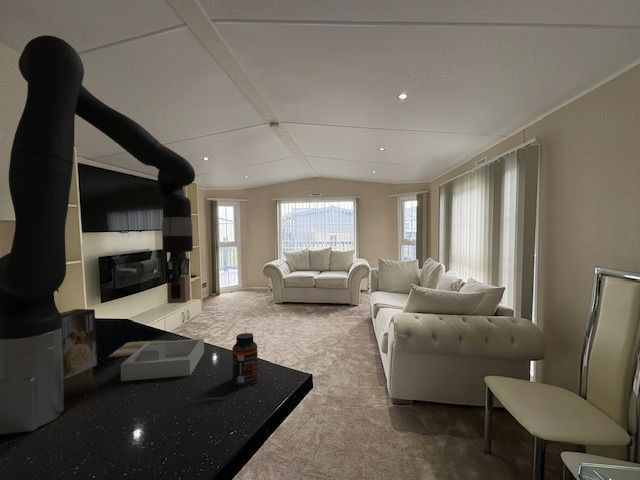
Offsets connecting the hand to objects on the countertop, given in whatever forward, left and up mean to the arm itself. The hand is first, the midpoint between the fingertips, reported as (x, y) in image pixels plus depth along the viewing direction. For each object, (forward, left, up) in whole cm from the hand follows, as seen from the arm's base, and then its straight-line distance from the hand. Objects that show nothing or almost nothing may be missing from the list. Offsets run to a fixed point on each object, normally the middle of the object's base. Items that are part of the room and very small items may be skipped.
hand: (178, 296), depth 84 cm
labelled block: (0, 0, -1) cm, 1 cm away
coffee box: (+1, +27, -19) cm, 34 cm away
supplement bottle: (-13, -19, -19) cm, 30 cm away
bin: (0, +3, -19) cm, 19 cm away
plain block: (0, +7, -19) cm, 20 cm away
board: (+15, +16, -19) cm, 29 cm away
